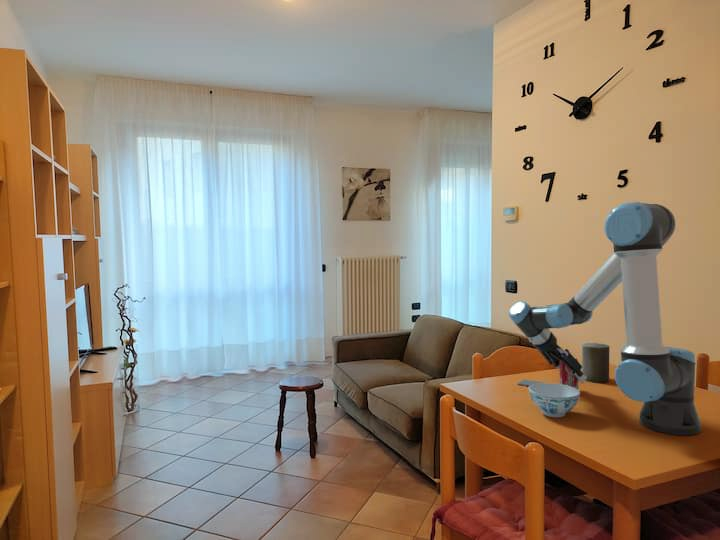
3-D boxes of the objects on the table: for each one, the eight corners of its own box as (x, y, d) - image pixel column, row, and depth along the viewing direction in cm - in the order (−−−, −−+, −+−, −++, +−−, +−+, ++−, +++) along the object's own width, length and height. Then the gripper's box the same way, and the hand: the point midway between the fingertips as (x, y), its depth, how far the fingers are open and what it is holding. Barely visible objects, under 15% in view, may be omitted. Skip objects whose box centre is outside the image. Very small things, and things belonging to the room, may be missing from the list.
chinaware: (590, 416, 149) (590, 391, 149) (558, 425, 142) (558, 400, 141) (550, 403, 162) (550, 380, 162) (518, 411, 155) (518, 387, 154)
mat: (538, 388, 178) (538, 386, 178) (517, 384, 183) (517, 383, 183) (544, 384, 184) (544, 382, 184) (524, 380, 188) (524, 379, 188)
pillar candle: (611, 383, 183) (612, 344, 183) (583, 381, 186) (583, 343, 186) (606, 377, 192) (607, 340, 192) (580, 375, 195) (580, 338, 195)
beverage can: (582, 391, 172) (582, 358, 171) (569, 393, 170) (569, 359, 169) (568, 386, 178) (569, 354, 177) (555, 388, 175) (555, 356, 175)
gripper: (516, 340, 176) (551, 379, 183) (556, 350, 158) (593, 393, 165) (528, 325, 178) (561, 364, 185) (568, 333, 160) (604, 376, 167)
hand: (576, 378), depth 175 cm, fingers closed on beverage can, 6 cm apart
